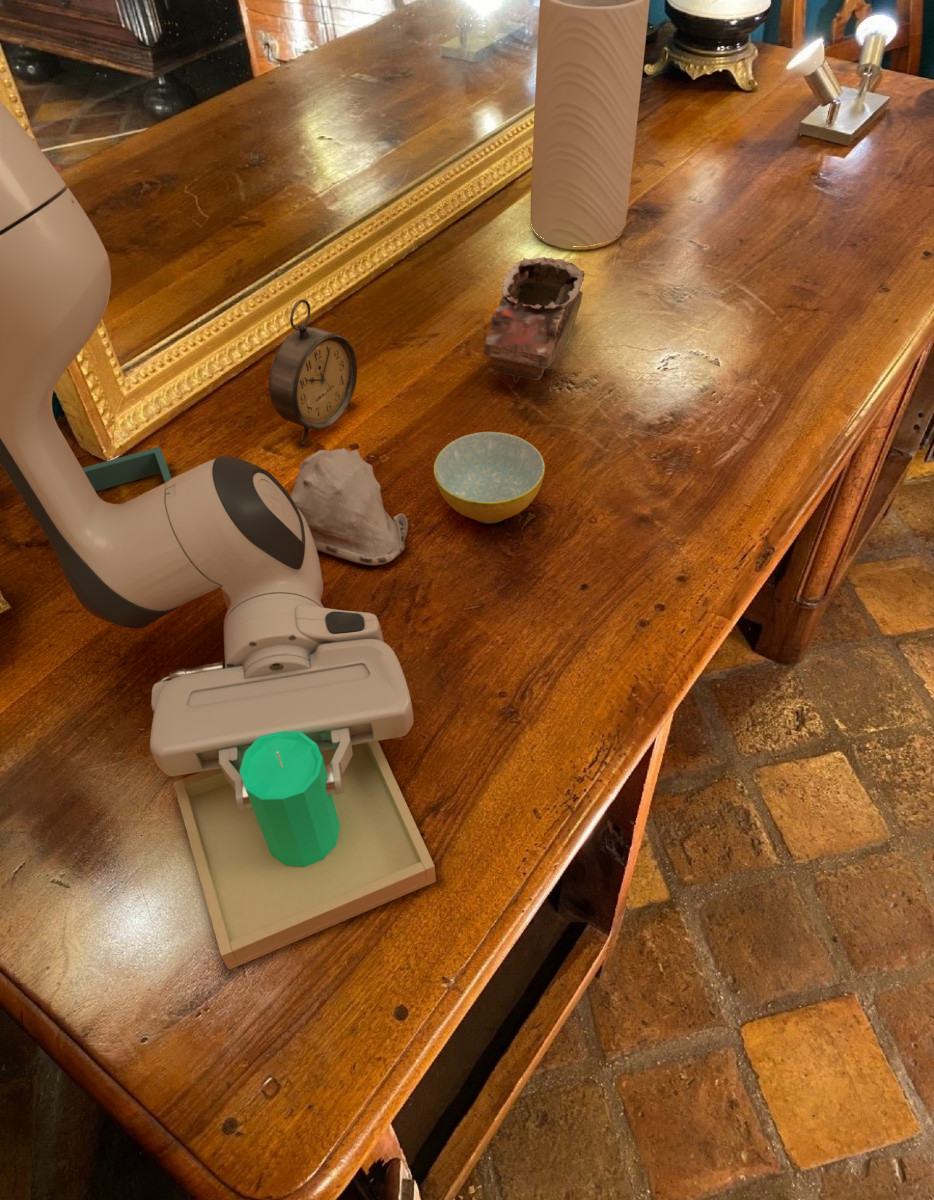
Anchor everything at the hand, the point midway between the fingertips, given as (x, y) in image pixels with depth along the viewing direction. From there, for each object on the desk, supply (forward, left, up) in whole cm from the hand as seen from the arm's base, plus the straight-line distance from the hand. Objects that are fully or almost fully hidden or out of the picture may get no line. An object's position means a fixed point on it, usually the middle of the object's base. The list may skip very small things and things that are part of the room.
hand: (291, 798), depth 70 cm
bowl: (+30, +30, -8) cm, 43 cm away
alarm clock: (+18, +52, -8) cm, 55 cm away
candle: (0, +1, -7) cm, 7 cm away
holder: (-6, +46, -8) cm, 47 cm away
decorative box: (+48, +52, -8) cm, 71 cm away
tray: (0, +1, -8) cm, 8 cm away
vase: (+68, +80, -8) cm, 105 cm away
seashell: (+16, +34, -8) cm, 38 cm away
